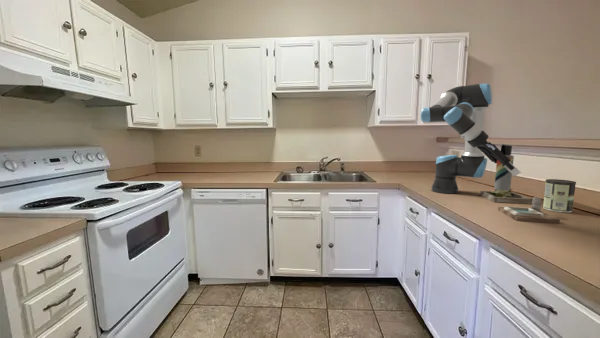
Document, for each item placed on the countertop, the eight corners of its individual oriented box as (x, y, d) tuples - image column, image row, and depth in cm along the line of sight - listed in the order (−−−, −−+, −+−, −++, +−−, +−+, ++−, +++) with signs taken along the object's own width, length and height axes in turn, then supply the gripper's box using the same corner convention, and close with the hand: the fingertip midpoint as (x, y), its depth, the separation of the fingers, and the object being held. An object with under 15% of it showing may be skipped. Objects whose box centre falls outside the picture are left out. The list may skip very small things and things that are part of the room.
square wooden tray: (480, 195, 156) (480, 191, 155) (513, 196, 152) (513, 192, 151) (493, 202, 139) (494, 197, 139) (531, 203, 135) (531, 199, 135)
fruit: (509, 199, 149) (514, 187, 147) (509, 204, 142) (514, 191, 140) (490, 194, 154) (494, 182, 152) (488, 199, 147) (493, 186, 145)
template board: (498, 210, 125) (499, 194, 124) (535, 212, 121) (536, 196, 120) (516, 220, 109) (518, 203, 108) (559, 223, 106) (562, 205, 105)
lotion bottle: (497, 187, 120) (501, 144, 117) (512, 189, 115) (517, 144, 113) (491, 188, 117) (496, 144, 114) (506, 191, 112) (511, 144, 110)
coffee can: (561, 207, 129) (564, 179, 127) (578, 213, 119) (582, 183, 117) (537, 206, 131) (540, 178, 129) (552, 212, 121) (555, 182, 119)
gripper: (460, 141, 126) (496, 175, 124) (475, 142, 109) (517, 182, 106) (473, 130, 124) (510, 165, 122) (491, 129, 106) (534, 170, 104)
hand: (513, 173), depth 114 cm, fingers closed on lotion bottle, 5 cm apart
